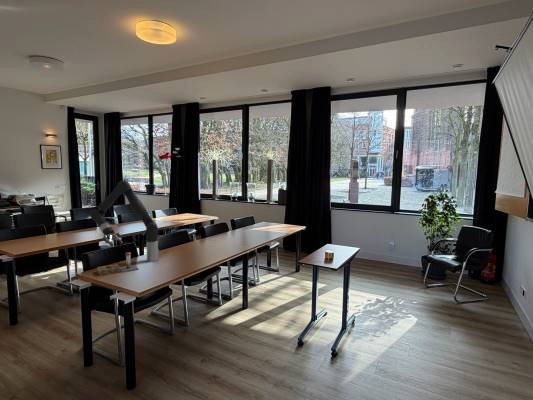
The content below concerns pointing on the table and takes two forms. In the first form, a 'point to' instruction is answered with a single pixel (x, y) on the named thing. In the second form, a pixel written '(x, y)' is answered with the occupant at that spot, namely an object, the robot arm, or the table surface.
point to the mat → (124, 269)
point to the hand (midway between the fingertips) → (117, 244)
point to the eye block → (108, 269)
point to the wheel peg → (128, 260)
